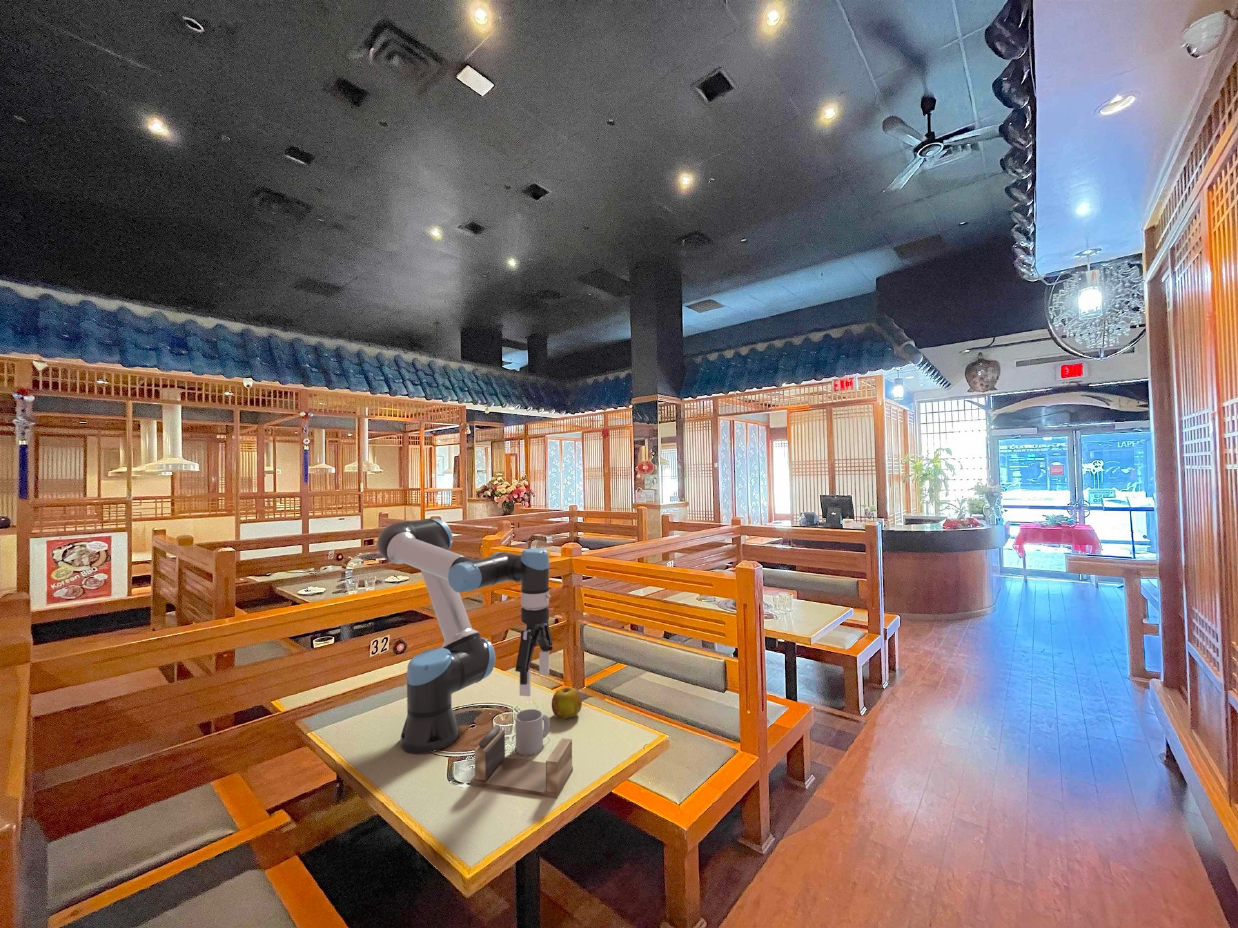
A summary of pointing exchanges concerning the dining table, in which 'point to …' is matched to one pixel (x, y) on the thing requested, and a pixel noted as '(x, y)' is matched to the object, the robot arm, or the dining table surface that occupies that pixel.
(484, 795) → the dining table surface
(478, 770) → the block
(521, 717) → the cup
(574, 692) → the fruit
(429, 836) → the dining table surface
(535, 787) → the base
